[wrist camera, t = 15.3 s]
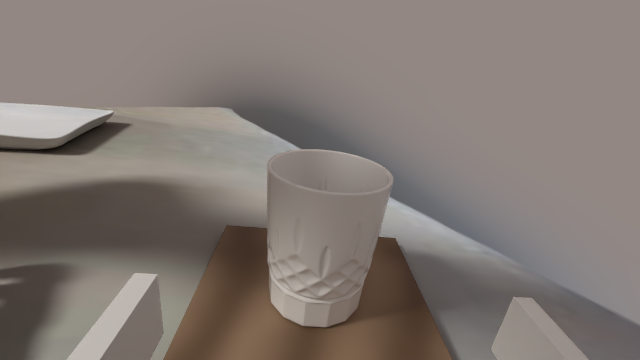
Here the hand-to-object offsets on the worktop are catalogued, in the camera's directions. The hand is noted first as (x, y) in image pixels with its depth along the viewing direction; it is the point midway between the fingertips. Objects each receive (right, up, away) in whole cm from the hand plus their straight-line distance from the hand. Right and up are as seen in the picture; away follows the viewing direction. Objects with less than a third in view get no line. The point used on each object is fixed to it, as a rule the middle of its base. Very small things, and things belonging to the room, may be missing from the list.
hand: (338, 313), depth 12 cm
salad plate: (-50, +12, +40) cm, 66 cm away
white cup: (-1, -4, +12) cm, 12 cm away
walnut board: (-1, -4, +12) cm, 13 cm away
